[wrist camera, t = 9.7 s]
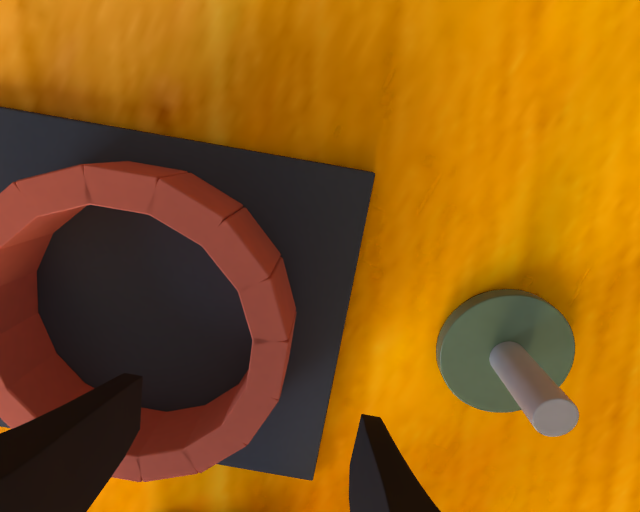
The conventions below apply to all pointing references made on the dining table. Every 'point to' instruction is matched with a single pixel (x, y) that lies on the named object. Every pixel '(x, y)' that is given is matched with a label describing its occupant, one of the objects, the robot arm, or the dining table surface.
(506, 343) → the post stand
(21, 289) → the ring
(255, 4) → the dining table surface
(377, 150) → the dining table surface
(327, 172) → the mat
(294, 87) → the dining table surface
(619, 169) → the dining table surface
